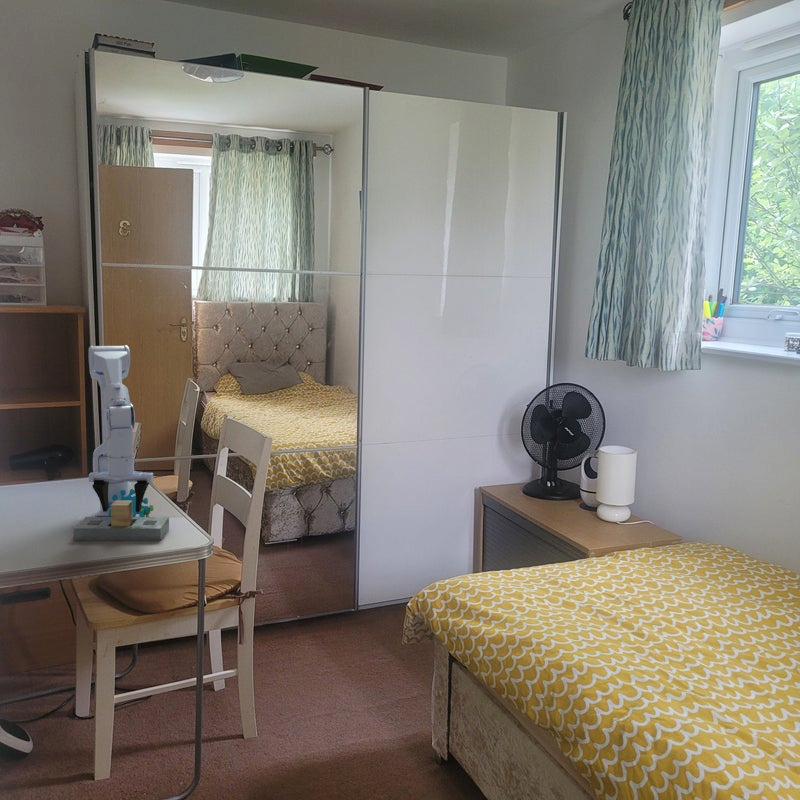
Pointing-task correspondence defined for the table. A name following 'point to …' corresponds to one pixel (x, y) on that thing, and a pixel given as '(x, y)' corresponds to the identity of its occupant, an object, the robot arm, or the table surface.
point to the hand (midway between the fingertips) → (122, 510)
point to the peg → (122, 513)
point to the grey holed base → (121, 529)
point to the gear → (144, 509)
